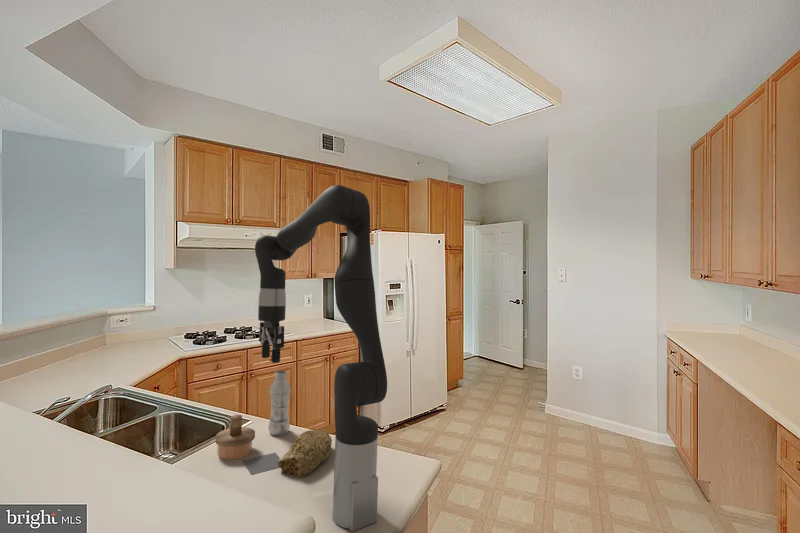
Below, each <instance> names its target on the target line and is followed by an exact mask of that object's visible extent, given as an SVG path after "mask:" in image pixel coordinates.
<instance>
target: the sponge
mask: <svg viewBox="0 0 800 533" xmlns="http://www.w3.org/2000/svg"><path fill="white" fill-rule="evenodd" d="M332 443H333V439H332V437H331V436H330V433H328V432H326V431H325V430H322V429H313V430H310V429H309V430H306V431H305V432H302V433H301V434H299V436H297V438H296V439H295V440H294V442H293V443H291V446H290V448H289V450H288V451H287V452H286V453H284V455H283V456H282V458H280V459H279V460H278V462H277V463H278V466H279V468H278V469H281V472H285V473H286V474H288V475H290V474H294V475H295V476H296V477H297V478H304V476H307V475H308V474H311V473H312V472H313V471H315V469H317V467H318V466H319V465H320V464H322V463H323V462H324V461H326V460H327V459H328V457H329V455H330V454H331V451H332V448H331V447H332Z"/></svg>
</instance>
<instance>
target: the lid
mask: <svg viewBox="0 0 800 533" xmlns="http://www.w3.org/2000/svg"><path fill="white" fill-rule="evenodd" d="M242 424H243V415H242V414H234V415H232V416H230V426H229V427H230V428H226V429H223V430H221V431H219V432H217V434H216V435H215V439H214V440H215V444H216V445H217V446H218V445H220V446H226V447H232V446H239V445H243V444H246V443H249V442H251V441H252V442H253V440H254V439H255V438H256V431H255V430H254V429H253V428H250V427H245V426H244V427H243V425H242Z"/></svg>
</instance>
